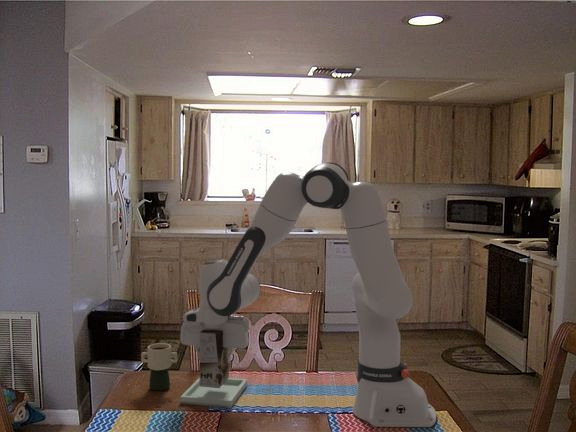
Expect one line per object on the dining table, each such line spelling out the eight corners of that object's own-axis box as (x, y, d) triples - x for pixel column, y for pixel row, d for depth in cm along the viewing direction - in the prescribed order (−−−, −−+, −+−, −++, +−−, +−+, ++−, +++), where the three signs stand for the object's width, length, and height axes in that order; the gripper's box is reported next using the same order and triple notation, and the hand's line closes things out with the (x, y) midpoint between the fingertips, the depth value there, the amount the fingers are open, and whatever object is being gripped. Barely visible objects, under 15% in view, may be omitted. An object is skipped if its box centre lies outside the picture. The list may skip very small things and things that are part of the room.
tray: (247, 385, 180) (247, 379, 180) (231, 407, 163) (231, 401, 163) (201, 382, 183) (201, 375, 183) (180, 403, 166) (180, 396, 166)
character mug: (179, 383, 181) (179, 342, 180) (175, 392, 174) (175, 350, 173) (144, 383, 181) (143, 342, 180) (138, 392, 174) (138, 350, 173)
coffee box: (220, 388, 167) (220, 333, 166) (198, 386, 169) (198, 332, 168) (229, 377, 176) (229, 325, 175) (209, 376, 178) (209, 323, 176)
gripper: (251, 314, 172) (251, 359, 173) (185, 310, 176) (186, 355, 177) (245, 319, 166) (245, 366, 167) (177, 315, 170) (178, 361, 171)
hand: (214, 360), depth 172 cm, fingers closed on coffee box, 6 cm apart
